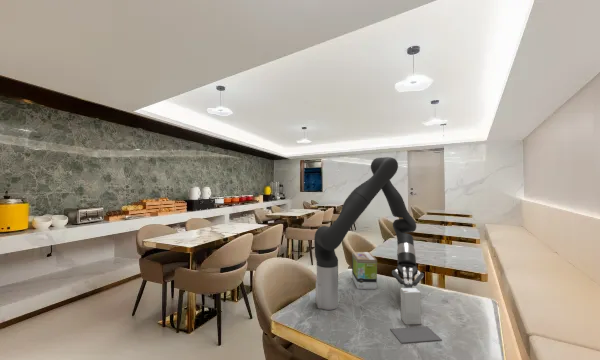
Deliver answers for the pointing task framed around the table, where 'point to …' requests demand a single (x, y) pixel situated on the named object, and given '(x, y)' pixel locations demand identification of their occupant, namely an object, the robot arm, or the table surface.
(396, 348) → the table surface
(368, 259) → the tea box
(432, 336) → the mat
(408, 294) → the skincare box
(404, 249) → the robot arm
